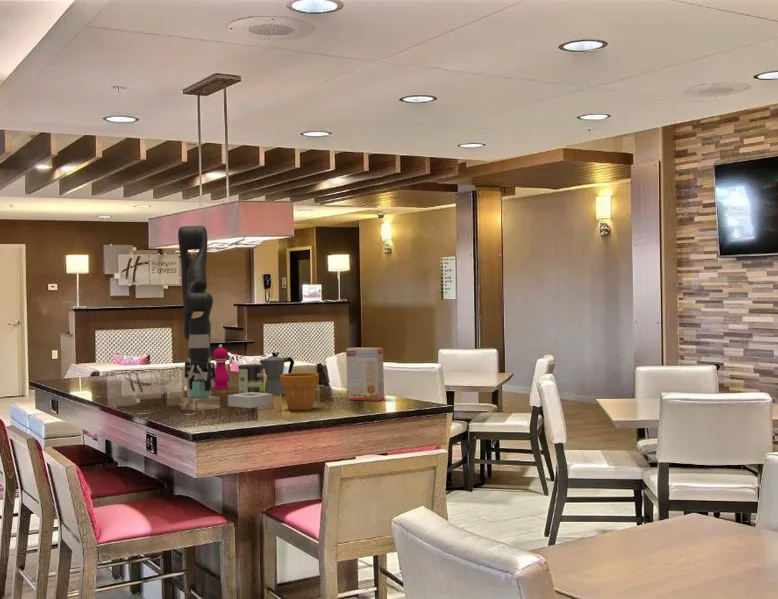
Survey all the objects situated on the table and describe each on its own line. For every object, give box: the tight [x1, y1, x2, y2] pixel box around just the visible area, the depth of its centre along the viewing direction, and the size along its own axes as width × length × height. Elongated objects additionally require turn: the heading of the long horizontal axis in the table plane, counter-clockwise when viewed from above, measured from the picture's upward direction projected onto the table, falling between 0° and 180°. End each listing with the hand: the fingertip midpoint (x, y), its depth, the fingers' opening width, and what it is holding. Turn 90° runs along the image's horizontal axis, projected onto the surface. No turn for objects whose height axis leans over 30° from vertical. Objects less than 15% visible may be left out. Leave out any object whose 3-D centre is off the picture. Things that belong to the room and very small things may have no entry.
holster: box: [180, 395, 221, 412], centre depth 338 cm, size 10×10×5 cm
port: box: [227, 392, 274, 409], centre depth 345 cm, size 12×12×5 cm
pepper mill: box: [212, 344, 230, 390], centre depth 413 cm, size 7×7×20 cm
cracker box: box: [345, 347, 385, 402], centre depth 364 cm, size 14×6×21 cm, turn 65°
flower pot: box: [281, 372, 320, 411], centre depth 339 cm, size 14×14×13 cm
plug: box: [192, 379, 208, 399], centre depth 338 cm, size 4×4×11 cm
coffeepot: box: [258, 351, 295, 395], centre depth 386 cm, size 15×9×18 cm, turn 113°
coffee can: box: [237, 363, 265, 394], centre depth 370 cm, size 10×10×14 cm
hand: (200, 390), depth 338 cm, fingers open, 8 cm apart
